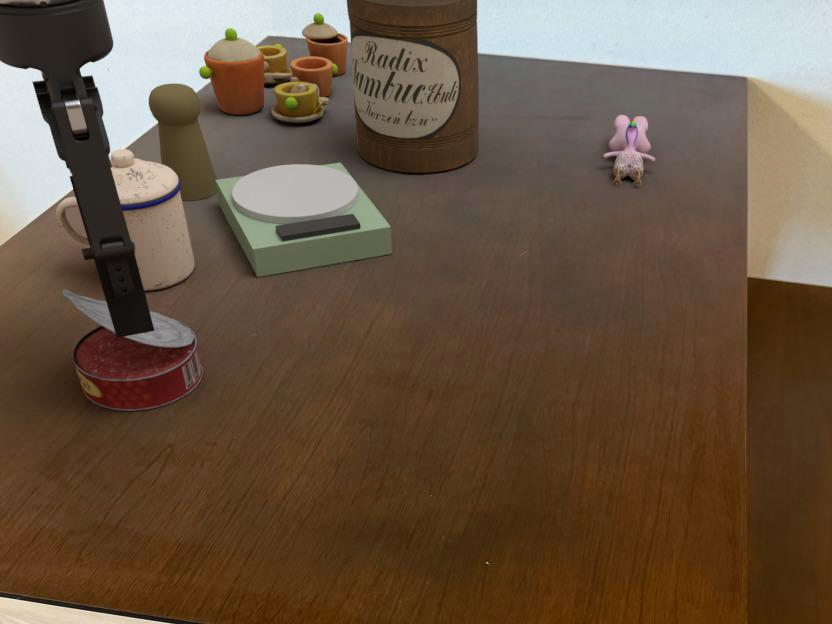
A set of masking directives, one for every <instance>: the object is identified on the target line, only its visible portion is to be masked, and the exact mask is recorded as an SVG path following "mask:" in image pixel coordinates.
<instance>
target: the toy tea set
mask: <svg viewBox="0 0 832 624" xmlns="http://www.w3.org/2000/svg"><path fill="white" fill-rule="evenodd" d="M312 19H313V22H312V23H309V24H308V25H306V26H305V27H304V28H303V29H302V31H301V35H302V37H304V38H305V40H306V44H307V45H306V46H307V49H308V52H309V56H303V57H298V58H295V59H293V60H292V61H290V63H289V66H290V67H289V66H288V51H287V49H286V48H284V47H283V45H282V44H280V43H275V44H274V45H259V46H256V45H254V44H253V43H252V42H250V41H249V40H246V39H245V38H242V37H238V33H237V31H236V30H235V29H234V28H232V27H230V28H227V29H226V30H225V33H224V38H221V39H219V40H218V41H216V42H215V43H214V44H213V45H212V46H211V47H210V49H208V50H207V51H206V52H205V53H204V55H203V60H204V64H205V65H204V66H201V67H200V68H199V70H198V73H199V77H201V78H202V79H203V80H210V84H211V86H212V89H213V93H214V95H215V99H216V103H217V105H218V108H219V109H220V110H221V111H222V112H223V113H226V114H229V115H235V116H244V115H245V116H247V115H253V114H256V113H258V112H261V110H262V109H263V107H264V105H265V85H268V86H269V85H275V87H274V88H273V93H274V96H275V100H276V104H275V105H273V106H272V107H271V109H270V112H271V115H272V117H273V118H274V119H277V120H279V121H281V122H284V123H290V124H303V123H310V122H312V121H315V120H318V119H320V118H321V117H322V116H323V115H324V111H325V110H324V107H323V106H328V105H329V104H330V98H328V97H330V96H331V94H332V89H333V88H332V86H333V77H336V76H340V75H342V74H344V73H345V72H346V70H347V61H348V60H347V59H348V58H347V57H348V44H349V43H348V42H349V38H348V36H347V35H345V34H343V33H340V32H338V30H337V29H336V28H335V27H333V26H332V25H330V24H329V23H327V22H325V17H324V15H323V14H322V13H320V12H319V13H315V14H314V15H313V17H312ZM289 80H290V81H289ZM287 81H289V82H287Z"/></svg>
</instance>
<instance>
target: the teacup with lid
mask: <svg viewBox="0 0 832 624" xmlns="http://www.w3.org/2000/svg"><path fill="white" fill-rule="evenodd" d="M110 161H111V165H112V167H111V171H112V174H113V178H114V182H115V185H116V189H117V192H118V196H119V199H120V203H121V207H122V210H123V214H124V217H125V221H126V225H127V228H128V232H129V235H130V239H131V240H132V242H134V245H135V257H136V261H137V265H138V269H139V273H140V276H141V280H142V284H143V288H144V292H147V291H158V290H162V289H166V288H169V287H172V286H174V285H177V284H179V283H182V282H183V281H184V280H186V279H187V278H188V277H189V276H190V275H192V273H193V272H194V269H195V266H196V265H195V264H196V262H195V257H194V252H193V248H192V243H191V238H190V233H189V228H188V223H187V219H186V214H185V209H184V205H183V200H182V199H181V195H180V188H181V182H180V179H179V178H178V176H177V174H176V173H175V172H174V171H173V170H172V169H171V168H169V167H167V166H165V165H163V164H161V163H159V162H155V161H150V160H149V161H148V160H144V159H140V158H136V157H135V154H134V153H133V152H132V150H129V149H125V148H122V149H121V148H120V149H116V150H113V151H112V152H111V154H110ZM71 208H79V207H78V204H77V200H76V197H75V196H69V197H66V198H64V199H63V200H61V201H60V202H59V203H58V205H57V207H56V208H55V220H56V223H57V226H58V228H59V229H60V231H61V232H62V233H63V235H64V236H65V237H66V238H67V239H68V240H69V241H70V242H71V243H72V244H74V245H76V246H78V247H79V248H81V249H86V248H90V245H89V242H88V238H87V237H85V236H83V235H81V234H79V233H78V232H77V231H76V230H75V229H74V228H73V226H71V224H70V222H69V221H68V219H67V215H66V210H67V209H71Z"/></svg>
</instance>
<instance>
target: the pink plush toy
mask: <svg viewBox="0 0 832 624" xmlns="http://www.w3.org/2000/svg"><path fill="white" fill-rule="evenodd" d="M613 127H614V131H615V134H614V135H613V137H612V138H611V139H610V140H609V142H608V148H609V150H610V152H605V153H604V154H603V155H602V156H603V158H604V159H608V158H610V157H613V158H614V157H615V161H614V162H613V163H614V164H613V169H612V171H613V176H614V177H615V178H614V179H613V183H615V182H616V183H615V185H616V184H617V185H618V182H620V184H621V183H623V182H622V179H624V178H625V177H629V178H630V179H632V180H634V182H633V184H635V183H636V184H639V183H640V184H642V180H641V178H642V177H643V174H644V160H648V161H650V162H651V163H654V162H655V161H656V158H655V157H654V156H652V155H650V154H648V153H649V152H650V151H651V148H652V147H651V143H650V141H649V140H648V138H647V135H646V133H647V131H648V129H649V122H648V119H647V118H646V117H645V116H642V115H638V116H635V117H634V118H633V120H632V121H630V117H628V116H627V115H625V114H619V115H617V116H616V118H615V120H614V124H613Z"/></svg>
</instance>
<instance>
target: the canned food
mask: <svg viewBox="0 0 832 624" xmlns="http://www.w3.org/2000/svg"><path fill="white" fill-rule="evenodd" d="M61 295H62V297H64V298H65V299H67V300H69V302H70V303H71V304H72V305H74V307H75V308H76V309H78V311H80V312H81V313H82V314H84V315H85V316H86V317H88V319H90V320H92V321H93V322H94V323H96V324H97V325H99V326H97V327H95V328H93V329H91V330H89V331H88V332H86V333H85V334H84V335H83V336H81V337H80V338H79V339H78V340H77V342H76V343H75V345H74V347H73V348H72V354H71V359H72V363H73V364H74V367H75V370H76V373H77V376H78V379H79V383H80V386H81V390H82V393H83V394H84V395H85V397H86V398H87V399H88V400H89V401H91V402H92V403H93V404H94V405H97V406H99V407H100V408H101V407H102V408H104V409H109V410H113V411H120V412H121V411H122V412H139V411H146V410H147V411H148V410H152V409H157V408H161V407H164V406H166V405H170V404H173V403H174V402H177V401H180V400H181V399H183V398H185V397H186V396H187V395H189V394H190V393H191V392H192V391H194V390H195V389H196V388H197V387H198V385H199V384H200V382H201V381H202V378H203V376H204V375H203V374H204V366H203V364H202V360H201V354H200V349H199V345H198V340H197V337H196V334H195V332H194V331H193V330H192V329H191V328H190V326H189V325H187V324H185V323H184V322H182V321H179V320H177V319H175V318H171V317H168V316H165V315H163V314H160V313H158V312H156V311H151V310H149V311H150V315H151V319H152V323H153V327H154V331H151V332H145V333H140V334H135V335H130V336H124V337H119V338H117V337H116V333H115V330H114V327H113V323H112V320H111V316H110V313H109V309H108V306H107V303H106V300H101V299H95V298H92V297H88V296H85V295H79V294H77V293H74V292H72V291H70V290H69V289H65V288H64V289H62V293H61Z"/></svg>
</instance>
